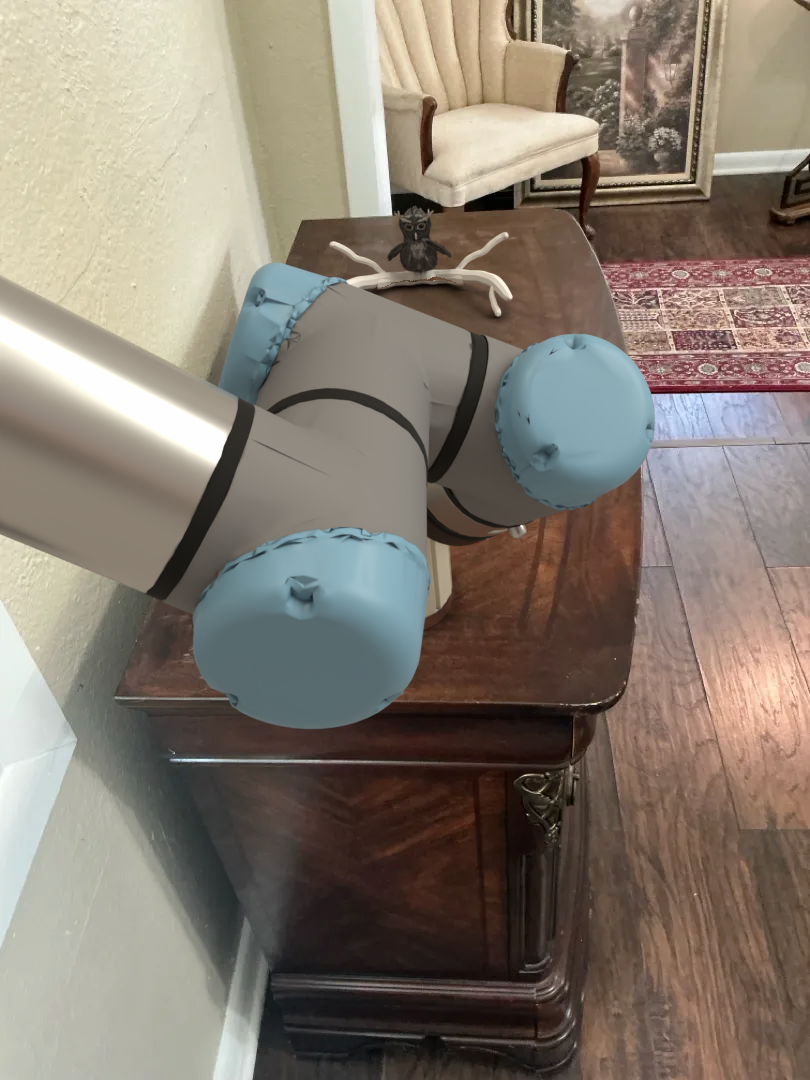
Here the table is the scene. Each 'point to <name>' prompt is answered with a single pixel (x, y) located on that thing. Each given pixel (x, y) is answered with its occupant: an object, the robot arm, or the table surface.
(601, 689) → the table surface
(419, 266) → the owl
